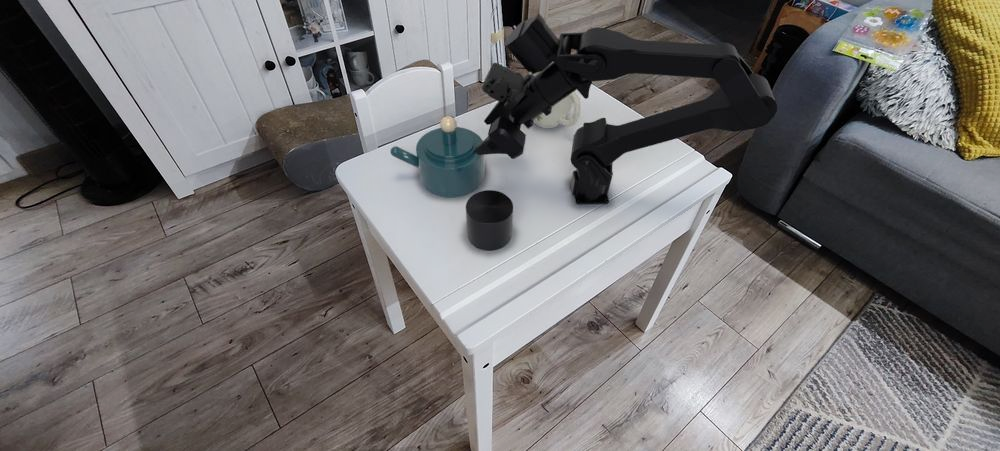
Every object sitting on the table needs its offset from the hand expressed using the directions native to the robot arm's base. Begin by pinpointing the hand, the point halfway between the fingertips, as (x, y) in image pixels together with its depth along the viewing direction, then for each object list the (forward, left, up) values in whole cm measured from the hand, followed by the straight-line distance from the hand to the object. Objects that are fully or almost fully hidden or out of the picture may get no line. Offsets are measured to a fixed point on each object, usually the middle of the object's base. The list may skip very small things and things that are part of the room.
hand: (481, 137), depth 84 cm
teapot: (+8, -3, -10) cm, 14 cm away
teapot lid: (+6, -1, -2) cm, 6 cm away
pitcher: (-16, -19, -10) cm, 27 cm away
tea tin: (-1, +15, -10) cm, 18 cm away
